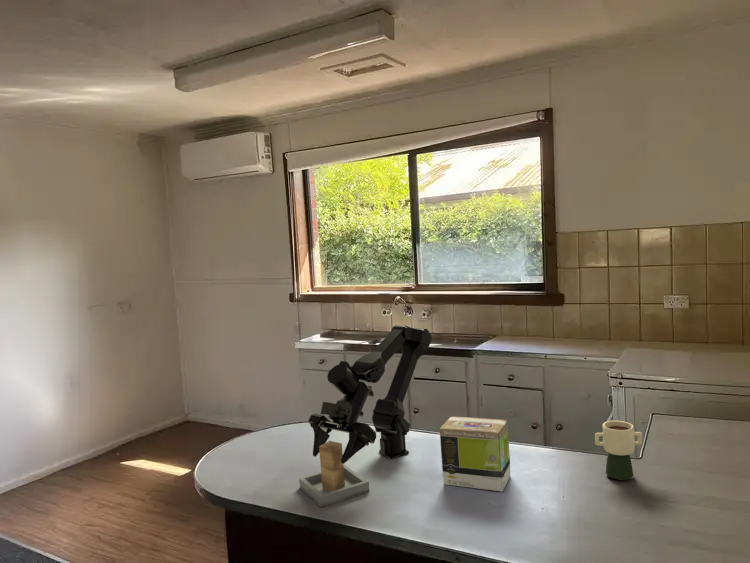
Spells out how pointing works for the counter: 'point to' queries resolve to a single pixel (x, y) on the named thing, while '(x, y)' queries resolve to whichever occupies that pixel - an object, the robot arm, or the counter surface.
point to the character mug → (618, 448)
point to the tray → (324, 497)
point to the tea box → (475, 453)
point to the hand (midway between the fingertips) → (327, 459)
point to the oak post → (332, 466)
